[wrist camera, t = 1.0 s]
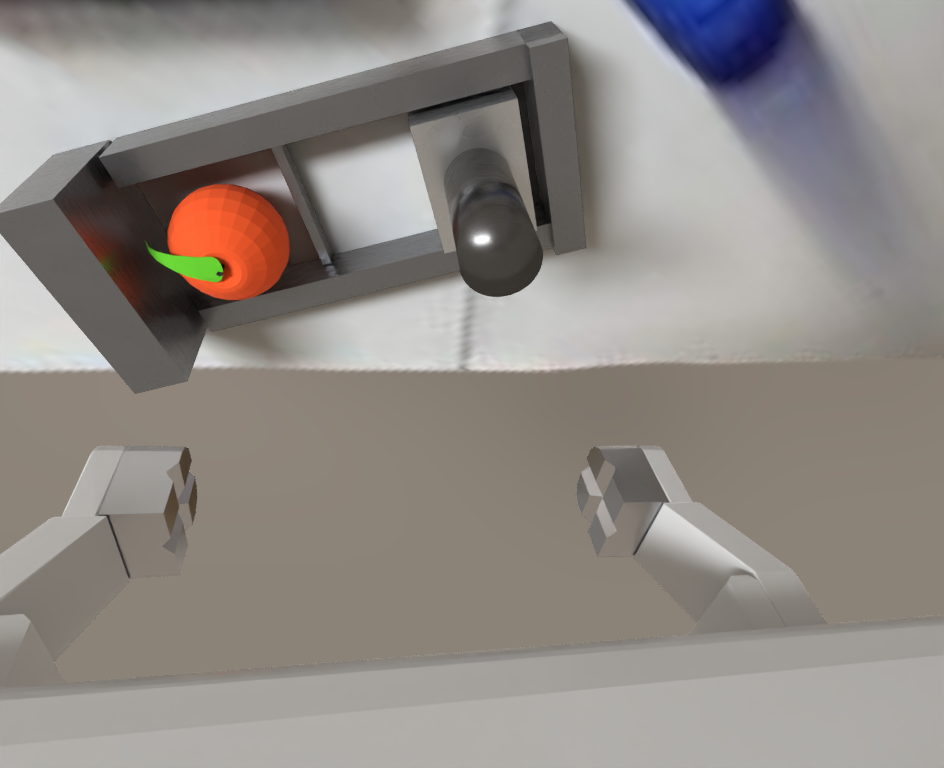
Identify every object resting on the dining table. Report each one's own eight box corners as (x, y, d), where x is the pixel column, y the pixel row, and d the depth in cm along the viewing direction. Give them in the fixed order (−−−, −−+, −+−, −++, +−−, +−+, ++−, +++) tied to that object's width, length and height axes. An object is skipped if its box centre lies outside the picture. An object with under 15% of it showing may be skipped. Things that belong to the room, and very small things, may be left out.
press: (551, 21, 33) (587, 57, 27) (571, 219, 42) (603, 280, 36) (53, 154, 35) (-14, 216, 29) (168, 319, 43) (134, 393, 37)
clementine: (172, 255, 40) (140, 316, 35) (158, 153, 36) (119, 206, 30) (295, 269, 42) (282, 329, 36) (296, 174, 37) (282, 227, 32)
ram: (506, 77, 35) (553, 163, 25) (525, 202, 40) (571, 313, 30) (407, 103, 35) (417, 198, 25) (440, 224, 40) (458, 340, 31)
